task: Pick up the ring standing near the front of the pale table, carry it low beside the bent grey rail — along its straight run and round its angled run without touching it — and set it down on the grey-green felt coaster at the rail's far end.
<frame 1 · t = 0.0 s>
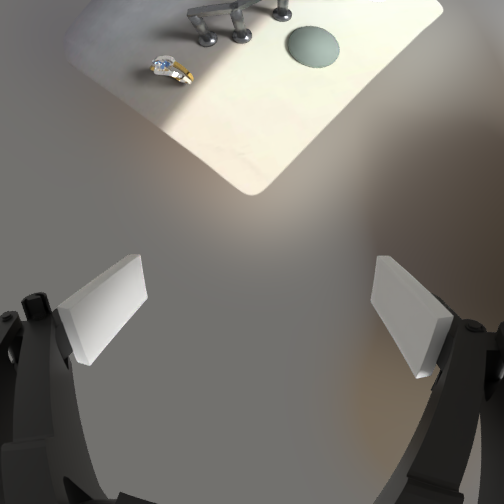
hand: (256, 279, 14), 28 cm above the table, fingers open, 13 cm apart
felt coaster: (313, 46, 32), on the table
ring: (180, 79, 36), on the table
bent grey rail: (242, 36, 33), on the table
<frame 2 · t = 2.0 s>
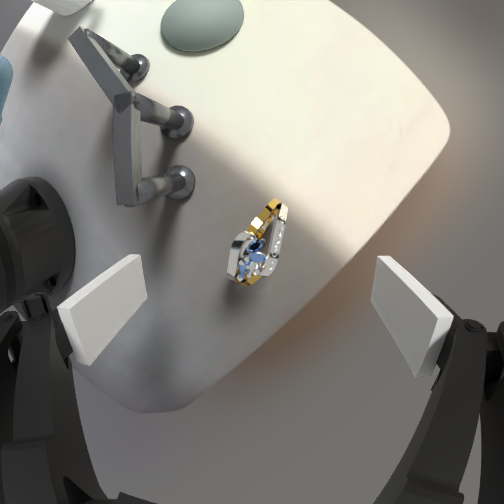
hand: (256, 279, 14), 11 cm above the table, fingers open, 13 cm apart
felt coaster: (202, 19, 18), on the table
ring: (258, 228, 25), on the table
bent grey rail: (177, 122, 22), on the table
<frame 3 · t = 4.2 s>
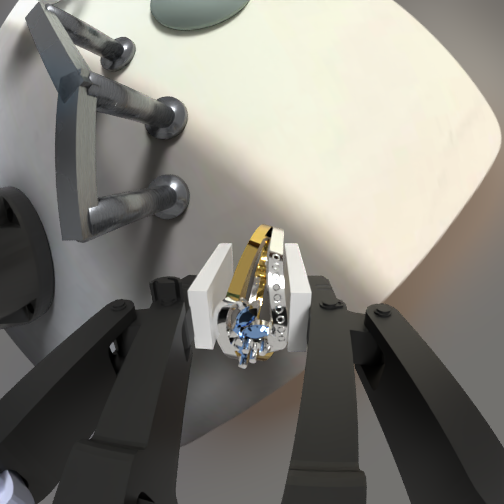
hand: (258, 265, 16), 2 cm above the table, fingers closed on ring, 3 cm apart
ring: (263, 266, 18), point 1 cm above the table, touching gripper
bent grey rail: (167, 118, 16), on the table
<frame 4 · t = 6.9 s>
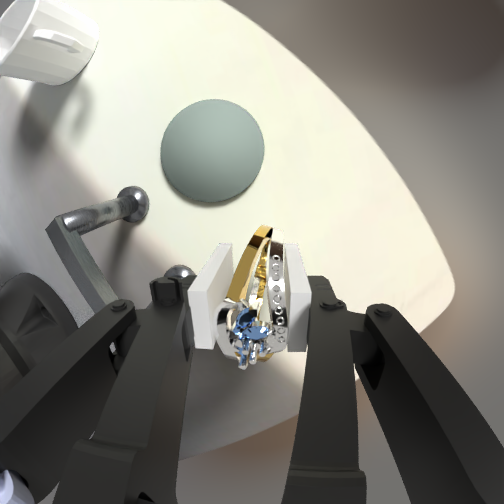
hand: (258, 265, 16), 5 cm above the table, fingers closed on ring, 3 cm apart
felt coaster: (211, 150, 20), on the table
ring: (263, 266, 18), point 4 cm above the table, touching gripper
mug: (81, 54, 17), on the table
bent grey rail: (181, 281, 23), on the table
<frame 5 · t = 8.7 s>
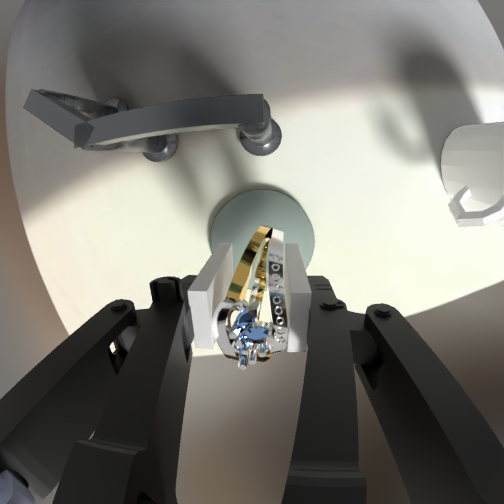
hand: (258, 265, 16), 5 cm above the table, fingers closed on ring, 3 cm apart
felt coaster: (262, 241, 21), on the table
ring: (263, 266, 18), point 4 cm above the table, touching gripper
mug: (457, 177, 18), on the table
bent grey rail: (160, 143, 20), on the table
when the fingers open (2 cm above the table, at t = 9.4 s): ring stays where it is, resting on felt coaster.
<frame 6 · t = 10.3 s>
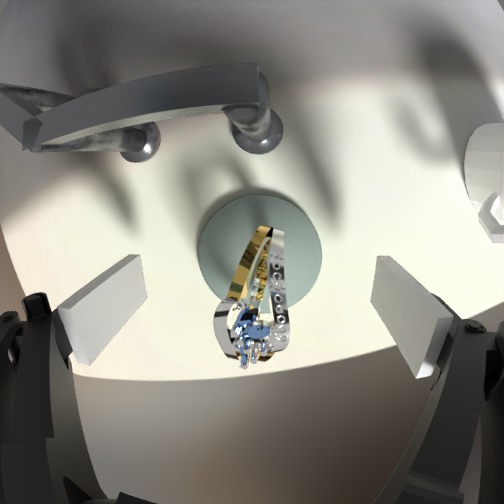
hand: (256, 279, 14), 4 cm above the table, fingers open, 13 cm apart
felt coaster: (259, 256, 18), on the table
ring: (263, 266, 18), resting on felt coaster
mug: (480, 181, 15), on the table
bent grey rail: (140, 140, 16), on the table
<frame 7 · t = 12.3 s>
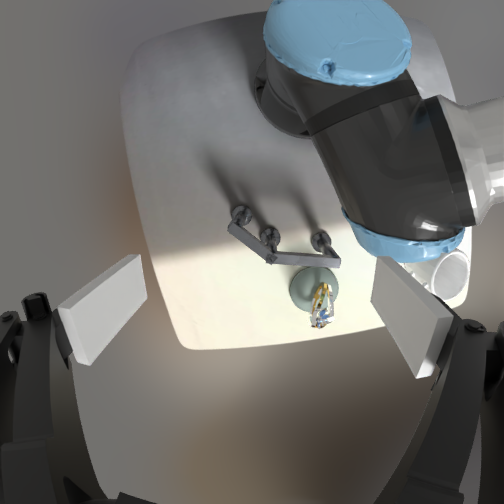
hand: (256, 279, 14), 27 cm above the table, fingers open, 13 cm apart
felt coaster: (314, 289, 44), on the table
ring: (315, 293, 44), resting on felt coaster
mug: (413, 260, 42), on the table
bent grey rail: (270, 237, 42), on the table
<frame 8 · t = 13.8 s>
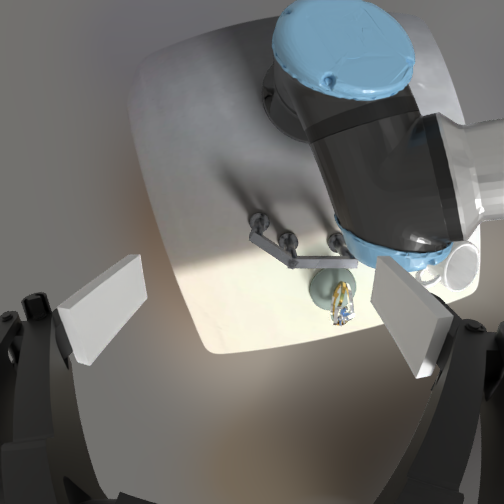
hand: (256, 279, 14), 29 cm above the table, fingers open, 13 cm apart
felt coaster: (333, 288, 45), on the table
ring: (334, 292, 45), resting on felt coaster
mug: (425, 253, 42), on the table
bent grey rail: (288, 241, 43), on the table
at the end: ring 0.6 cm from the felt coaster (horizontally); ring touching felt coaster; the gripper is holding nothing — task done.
